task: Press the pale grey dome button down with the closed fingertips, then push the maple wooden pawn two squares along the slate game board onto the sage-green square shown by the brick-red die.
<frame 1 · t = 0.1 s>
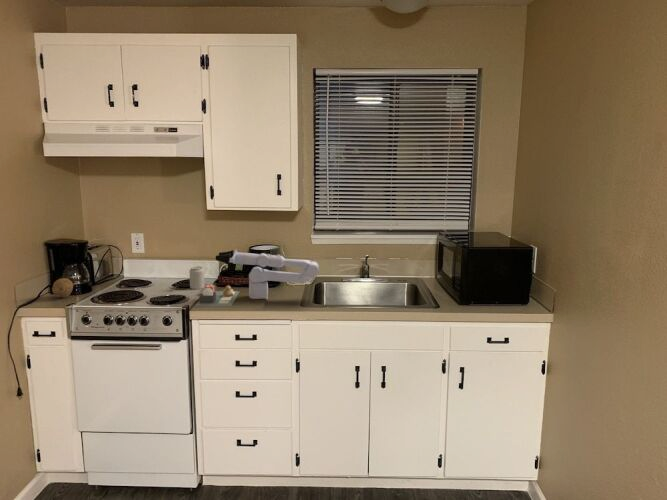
hand: (217, 256, 232), 22 cm above the table, tool horizontal, fingers open, 7 cm apart
pawn: (228, 295, 237), point 1 cm above the table, touching board
board: (218, 300, 233), on the table
natural sponge: (63, 298, 232), on the table
die: (209, 293, 240), resting on board
can: (197, 289, 253), on the table
dome: (207, 293, 227), point 5 cm above the table, slide at 0.0 cm
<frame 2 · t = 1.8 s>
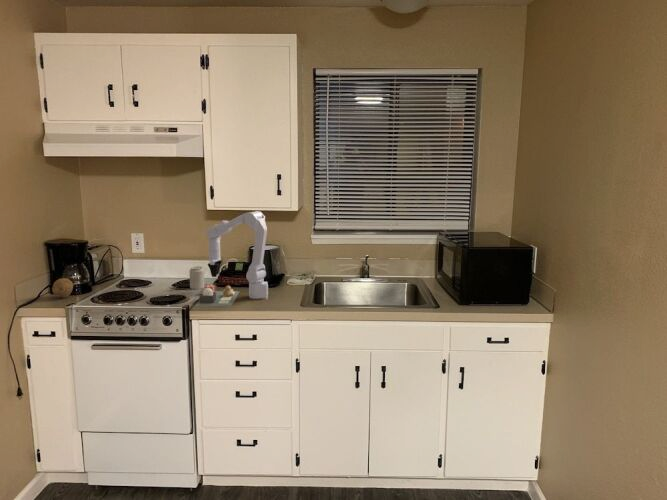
hand: (215, 275, 244), 9 cm above the table, tool pointing down, fingers open, 5 cm apart
nothing on the table moved.
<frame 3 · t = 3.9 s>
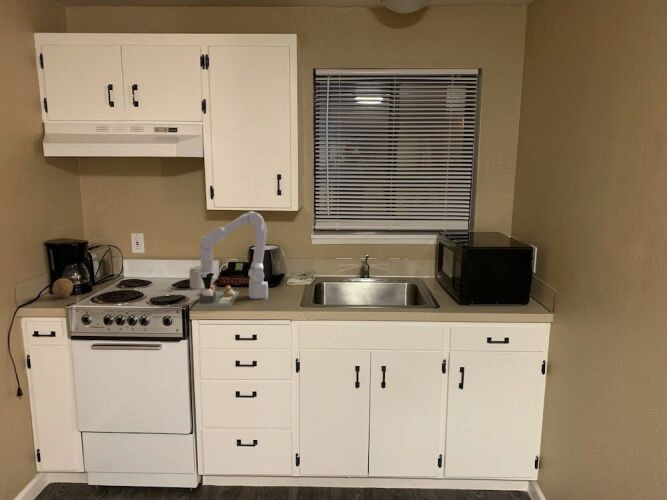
hand: (207, 288, 227), 7 cm above the table, tool pointing down, fingers closed, pressing on dome
dome: (207, 293, 227), point 5 cm above the table, slide at 0.2 cm, touching gripper
everything else where it was.
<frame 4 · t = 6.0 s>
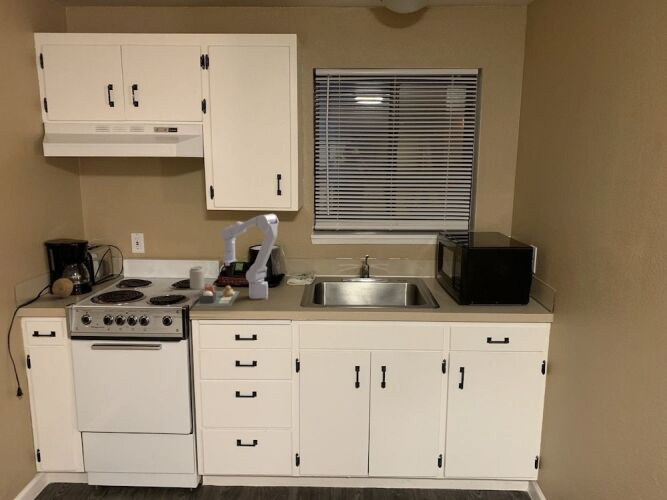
hand: (230, 276, 243), 9 cm above the table, tool pointing down, fingers closed
dome: (207, 295, 227), point 3 cm above the table, slide at 1.5 cm, touching board
everything else where it was.
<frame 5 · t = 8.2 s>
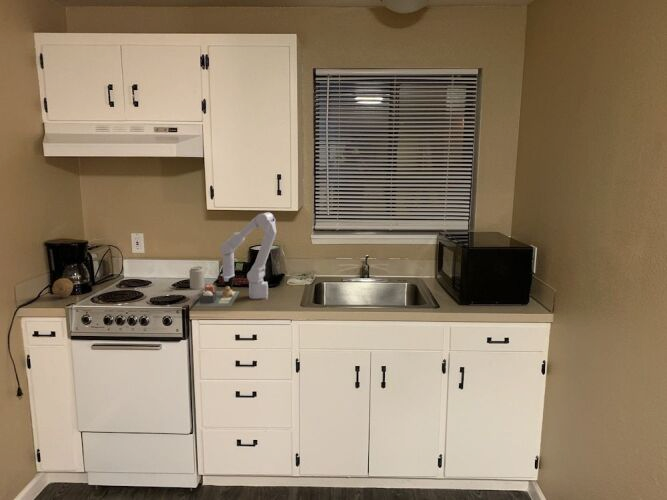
hand: (228, 291, 240), 2 cm above the table, tool pointing down, fingers closed
pawn: (227, 296, 236), point 1 cm above the table, touching board, gripper
everything else where it was.
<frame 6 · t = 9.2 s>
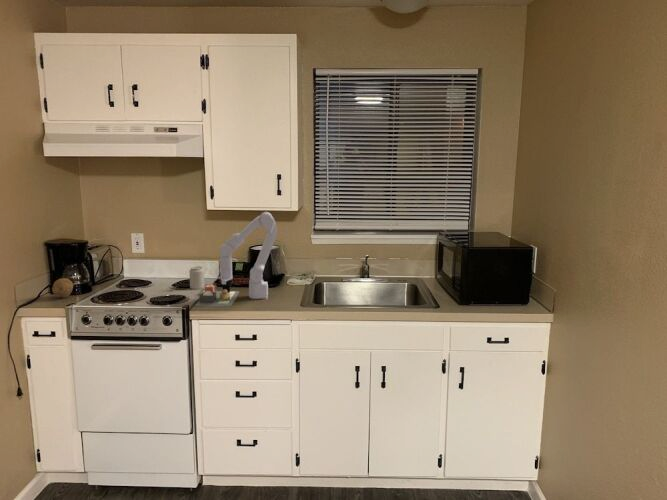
hand: (226, 294, 234), 2 cm above the table, tool pointing down, fingers closed
pawn: (224, 299, 230), point 1 cm above the table, touching board, gripper
everything else where it was.
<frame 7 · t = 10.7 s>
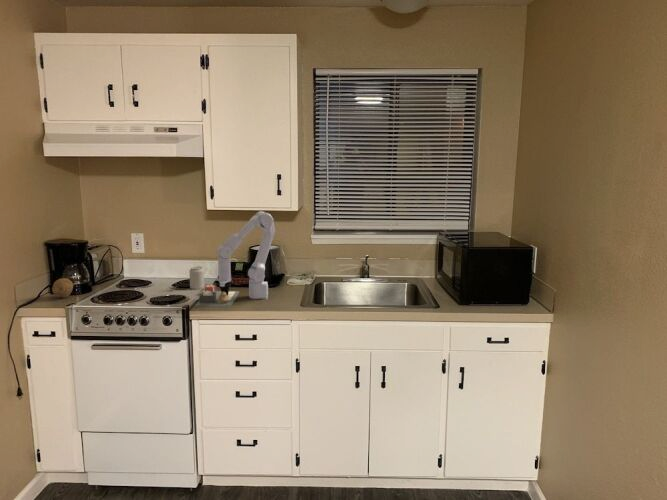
hand: (225, 297, 230), 2 cm above the table, tool pointing down, fingers closed
pawn: (223, 302, 226), point 1 cm above the table, touching board, gripper
everything else where it was.
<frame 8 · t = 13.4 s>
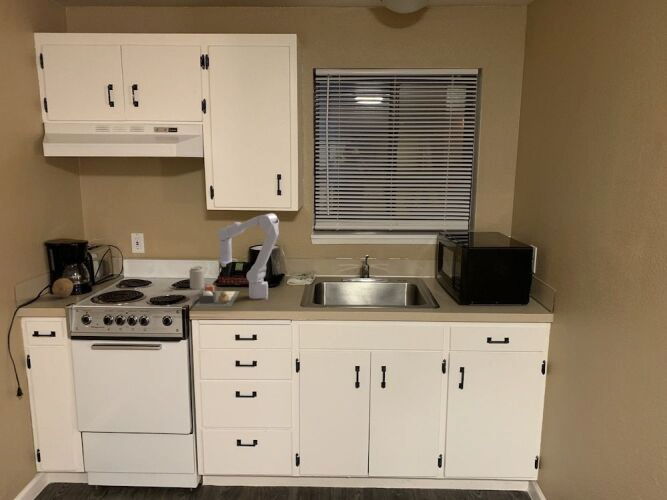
hand: (226, 277, 240), 9 cm above the table, tool pointing down, fingers closed
pawn: (223, 302, 226), point 1 cm above the table, touching board
everything else where it was.
at the end: dome slide at 1.5 cm; pawn 0.4 cm from the target spot on the board, point 1.0 cm above the board's base; pawn tilted 0° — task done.
